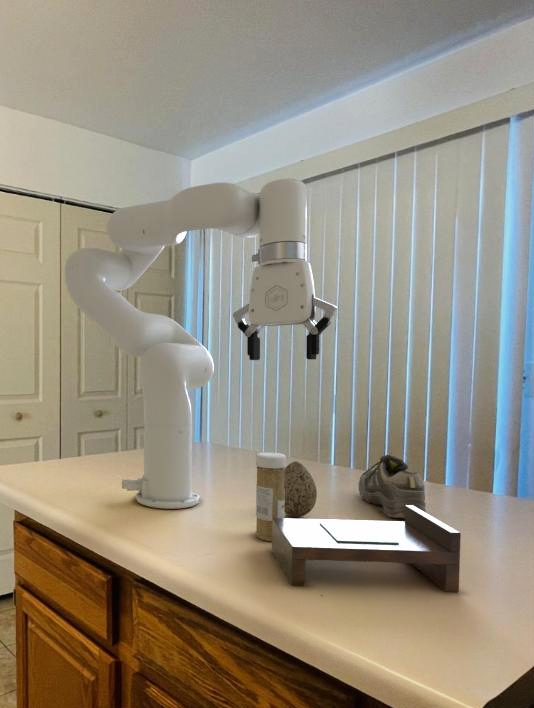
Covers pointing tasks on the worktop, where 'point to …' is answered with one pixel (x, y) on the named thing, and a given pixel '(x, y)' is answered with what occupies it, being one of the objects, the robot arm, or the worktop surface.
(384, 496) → the hiking shoe
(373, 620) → the worktop surface
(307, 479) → the decorative egg
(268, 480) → the sprinkles bottle
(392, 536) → the shelf
